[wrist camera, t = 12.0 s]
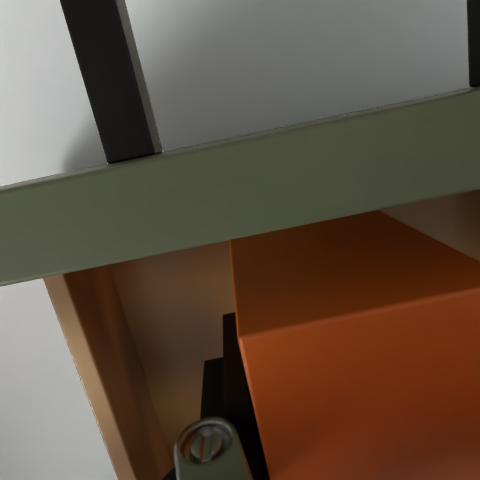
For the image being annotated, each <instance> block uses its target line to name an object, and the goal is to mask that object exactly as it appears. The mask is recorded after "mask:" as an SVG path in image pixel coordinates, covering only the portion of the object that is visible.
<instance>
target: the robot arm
mask: <svg viewBox="0 0 480 480" xmlns="http://www.w3.org/2000/svg"><path fill="white" fill-rule="evenodd" d="M174 461H175V467H174V468H173V469H172V470H171V471H170V472H169V473H168V474H167V475H166V476H165V477H164V478H163V479H162V480H270V477H269V473H268V469H267V464H266V460H265V456H264V451H263V447H262V443H261V438H260V434H259V430H258V425H257V421H256V417H255V412H254V408H253V404H252V399H251V395H250V391H249V387H248V382H247V378H246V374H245V369H244V365H243V361H242V356H241V352H240V348H239V343H238V338H237V326H236V313H235V312H233V313H228V314H223V357H220V358H215V359H210V360H205V361H204V369H203V383H202V397H201V411H200V420H198V421H196V422H194V423H192V424H190V425H189V426H188V427H186V428H185V429H184V430H183V431H182V433H181V434H180V435H179V436H178V438H177V440H176V443H175V445H174Z"/></svg>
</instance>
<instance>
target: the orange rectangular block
mask: <svg viewBox="0 0 480 480" xmlns="http://www.w3.org/2000/svg"><path fill="white" fill-rule="evenodd" d="M229 241H230V253H231V265H232V277H233V289H234V301H235V313H236V326H237V338H238V343H239V348H240V352H241V356H242V361H243V365H244V369H245V374H246V378H247V382H248V387H249V391H250V395H251V399H252V404H253V408H254V412H255V417H256V421H257V425H258V430H259V434H260V438H261V443H262V447H263V451H264V456H265V460H266V464H267V469H268V473H269V477H270V480H480V261H478V260H476V259H474V258H472V257H470V256H468V255H466V254H464V253H462V252H460V251H458V250H456V249H454V248H452V247H450V246H448V245H446V244H444V243H442V242H440V241H438V240H437V239H435V238H433V237H431V236H429V235H427V234H425V233H423V232H421V231H419V230H417V229H415V228H413V227H411V226H409V225H407V224H405V223H403V222H401V221H399V220H397V219H395V218H393V217H391V216H389V215H387V214H385V213H383V212H381V211H379V210H375V211H371V212H366V213H361V214H356V215H351V216H346V217H341V218H336V219H331V220H326V221H321V222H316V223H311V224H306V225H301V226H297V227H292V228H287V229H282V230H277V231H272V232H267V233H262V234H257V235H252V236H247V237H242V238H237V239H232V240H229Z"/></svg>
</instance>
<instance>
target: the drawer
mask: <svg viewBox="0 0 480 480" xmlns="http://www.w3.org/2000/svg"><path fill="white" fill-rule="evenodd" d="M60 3H61V6H62V9H63V13H64V16H65V20H66V23H67V26H68V30H69V33H70V37H71V40H72V43H73V47H74V50H75V54H76V57H77V60H78V64H79V67H80V71H81V74H82V77H83V81H84V84H85V87H86V91H87V94H88V98H89V101H90V104H91V108H92V111H93V115H94V118H95V121H96V125H97V128H98V132H99V135H100V138H101V142H102V145H103V149H104V152H105V155H106V159H107V162H108V164H103V165H99V166H94V167H89V168H84V169H80V170H75V171H70V172H65V173H60V174H56V175H51V176H46V177H42V178H37V179H32V180H28V181H23V182H19V183H14V184H9V185H5V186H0V286H5V285H10V284H15V283H20V282H25V281H30V280H35V279H40V278H43V280H44V282H45V285H46V288H47V290H48V293H49V296H50V298H51V301H52V304H53V306H54V309H55V312H56V314H57V317H58V320H59V323H60V325H61V328H62V331H63V333H64V336H65V339H66V341H67V344H68V347H69V349H70V352H71V355H72V357H73V360H74V363H75V365H76V368H77V371H78V373H79V376H80V379H81V381H82V384H83V387H84V389H85V392H86V395H87V397H88V400H89V403H90V406H91V408H92V411H93V414H94V416H95V419H96V422H97V424H98V427H99V430H100V432H101V435H102V438H103V440H104V443H105V446H106V448H107V451H108V454H109V456H110V459H111V462H112V464H113V467H114V470H115V472H116V475H117V478H118V480H162V479H163V478H164V477H165V476H166V475H167V474H168V473H169V472H170V471H171V470H172V469H173V468H174V467H175V461H174V445H175V443H176V440H177V438H178V436H179V435H180V434H181V433H182V431H183V430H184V429H185V428H186V427H188V426H189V425H190V424H192V423H194V422H196V421H198V420H200V411H201V397H202V383H203V369H204V361H205V360H210V359H215V358H220V357H223V314H228V313H233V312H235V301H234V289H233V277H232V265H231V253H230V241H229V240H232V239H237V238H242V237H247V236H252V235H257V234H262V233H267V232H272V231H277V230H282V229H287V228H292V227H297V226H301V225H306V224H311V223H316V222H321V221H326V220H331V219H336V218H341V217H346V216H351V215H356V214H361V213H366V212H371V211H375V210H379V211H381V212H383V213H385V214H387V215H389V216H391V217H393V218H395V219H397V220H399V221H401V222H403V223H405V224H407V225H409V226H411V227H413V228H415V229H417V230H419V231H421V232H423V233H425V234H427V235H429V236H431V237H433V238H435V239H437V240H438V241H440V242H442V243H444V244H446V245H448V246H450V247H452V248H454V249H456V250H458V251H460V252H462V253H464V254H466V255H468V256H470V257H472V258H474V259H476V260H478V261H480V0H467V25H468V60H469V85H470V87H471V88H467V89H462V90H457V91H452V92H448V93H443V94H438V95H433V96H428V97H424V98H419V99H414V100H409V101H405V102H400V103H395V104H390V105H385V106H381V107H376V108H371V109H366V110H362V111H357V112H352V113H347V114H342V115H338V116H333V117H328V118H323V119H319V120H314V121H309V122H304V123H299V124H295V125H290V126H285V127H280V128H276V129H271V130H266V131H261V132H256V133H252V134H247V135H242V136H237V137H232V138H228V139H223V140H218V141H213V142H209V143H204V144H199V145H194V146H189V147H185V148H180V149H175V150H170V151H166V152H162V151H163V150H162V146H161V142H160V138H159V134H158V130H157V126H156V122H155V119H154V115H153V111H152V107H151V103H150V99H149V95H148V91H147V87H146V83H145V79H144V75H143V71H142V67H141V63H140V59H139V55H138V51H137V47H136V43H135V39H134V35H133V31H132V27H131V23H130V19H129V15H128V11H127V7H126V3H125V0H60Z"/></svg>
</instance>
